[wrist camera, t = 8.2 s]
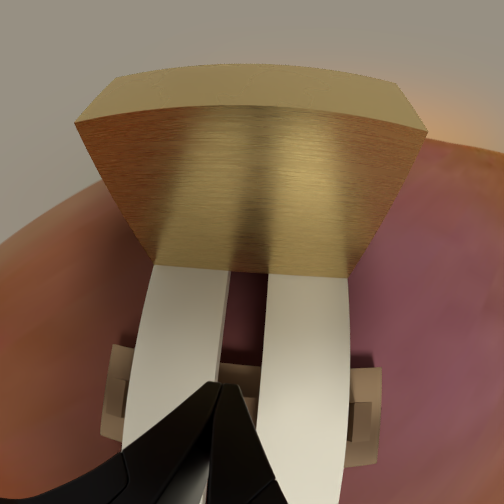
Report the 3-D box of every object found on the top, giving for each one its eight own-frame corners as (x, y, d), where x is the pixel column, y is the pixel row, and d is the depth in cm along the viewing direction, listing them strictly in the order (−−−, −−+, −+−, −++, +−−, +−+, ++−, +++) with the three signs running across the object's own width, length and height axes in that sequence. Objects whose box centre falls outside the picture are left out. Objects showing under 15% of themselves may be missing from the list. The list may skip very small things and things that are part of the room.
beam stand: (369, 460, 12) (395, 471, 9) (107, 433, 13) (77, 436, 10) (375, 369, 15) (401, 360, 12) (119, 347, 16) (92, 333, 13)
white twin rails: (304, 607, 4) (312, 632, 1) (132, 585, 4) (113, 604, 2) (328, 155, 20) (335, 123, 17) (197, 149, 20) (190, 117, 18)
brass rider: (343, 284, 14) (428, 131, 6) (158, 270, 15) (74, 122, 6) (332, 175, 18) (362, 43, 10) (188, 168, 19) (160, 39, 10)
